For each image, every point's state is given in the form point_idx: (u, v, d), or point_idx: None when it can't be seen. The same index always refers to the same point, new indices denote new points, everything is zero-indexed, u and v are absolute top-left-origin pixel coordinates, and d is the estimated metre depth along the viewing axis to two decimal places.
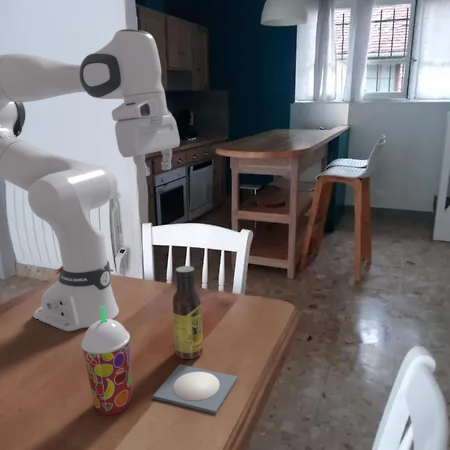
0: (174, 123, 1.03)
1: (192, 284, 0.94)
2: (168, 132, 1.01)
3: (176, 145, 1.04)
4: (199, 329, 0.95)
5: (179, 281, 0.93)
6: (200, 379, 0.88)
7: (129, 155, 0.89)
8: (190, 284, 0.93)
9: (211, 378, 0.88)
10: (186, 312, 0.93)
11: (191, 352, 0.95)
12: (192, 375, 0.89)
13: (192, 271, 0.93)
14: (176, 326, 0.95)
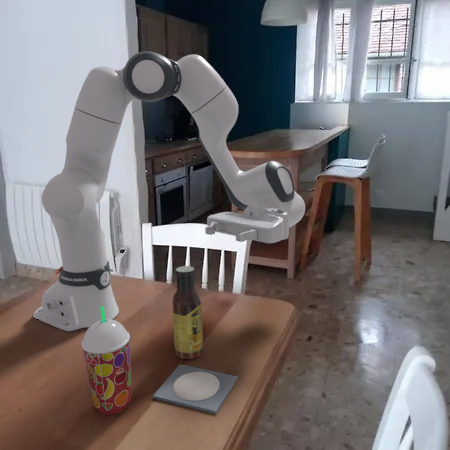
0: None
1: (192, 284, 0.94)
2: None
3: None
4: (199, 329, 0.95)
5: (179, 281, 0.93)
6: (200, 379, 0.88)
7: (269, 237, 0.98)
8: (190, 284, 0.93)
9: (211, 378, 0.88)
10: (186, 312, 0.93)
11: (191, 352, 0.95)
12: (192, 375, 0.89)
13: (192, 271, 0.93)
14: (176, 326, 0.95)
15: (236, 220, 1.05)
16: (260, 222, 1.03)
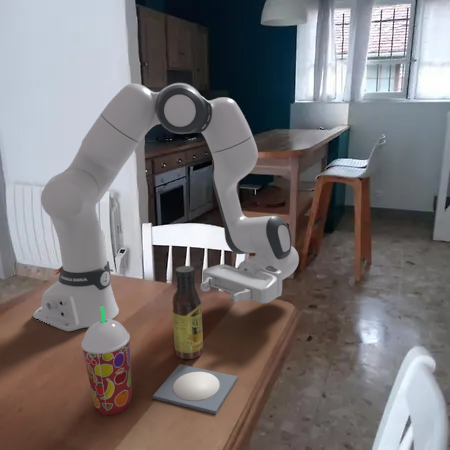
0: None
1: (192, 284, 0.94)
2: None
3: None
4: (199, 329, 0.95)
5: (179, 281, 0.93)
6: (200, 379, 0.88)
7: (263, 298, 1.00)
8: (190, 284, 0.93)
9: (211, 378, 0.88)
10: (186, 312, 0.93)
11: (191, 352, 0.95)
12: (192, 375, 0.89)
13: (192, 271, 0.93)
14: (176, 326, 0.95)
15: (231, 277, 1.07)
16: (254, 280, 1.05)
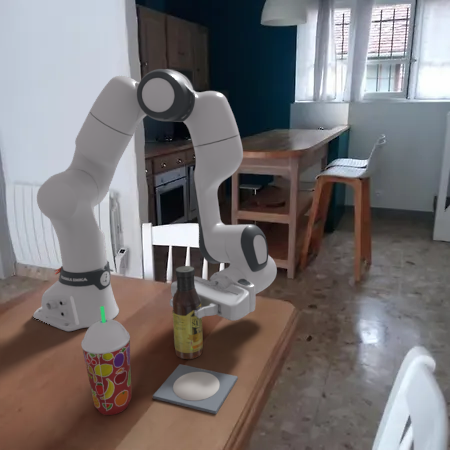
0: None
1: (192, 284, 0.94)
2: None
3: None
4: (199, 329, 0.95)
5: (179, 281, 0.93)
6: (200, 379, 0.88)
7: (232, 315, 0.93)
8: (190, 284, 0.93)
9: (211, 378, 0.88)
10: (186, 312, 0.93)
11: (191, 352, 0.95)
12: (192, 375, 0.89)
13: (192, 271, 0.93)
14: (176, 326, 0.95)
15: (200, 291, 0.99)
16: (224, 295, 0.97)
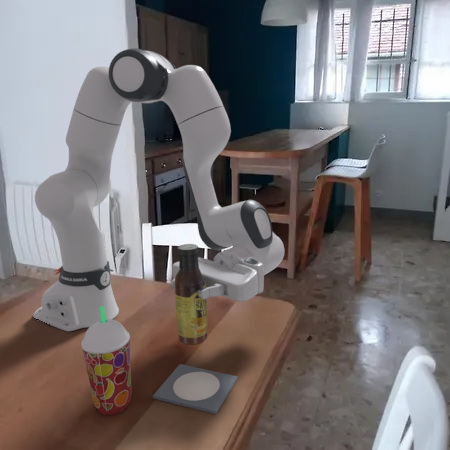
0: None
1: (196, 263, 0.86)
2: None
3: None
4: (204, 312, 0.88)
5: (182, 260, 0.86)
6: (200, 379, 0.88)
7: (240, 295, 0.85)
8: (193, 263, 0.86)
9: (211, 378, 0.88)
10: (189, 293, 0.86)
11: (195, 337, 0.88)
12: (192, 375, 0.89)
13: (196, 249, 0.85)
14: (178, 309, 0.87)
15: (204, 271, 0.92)
16: (230, 274, 0.90)
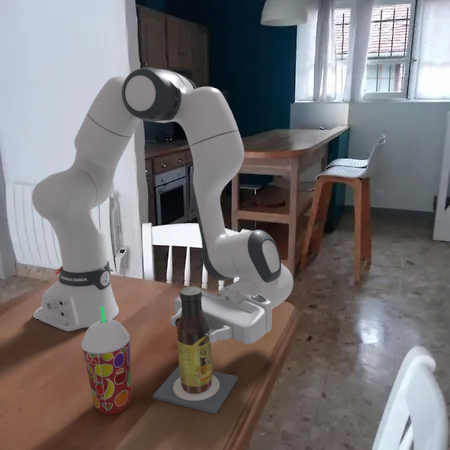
0: None
1: (199, 308, 0.81)
2: None
3: None
4: (208, 359, 0.83)
5: (184, 306, 0.80)
6: None
7: (247, 337, 0.80)
8: (197, 309, 0.80)
9: None
10: (192, 340, 0.80)
11: (199, 386, 0.83)
12: None
13: (199, 293, 0.80)
14: (181, 356, 0.82)
15: (208, 308, 0.87)
16: (236, 313, 0.84)
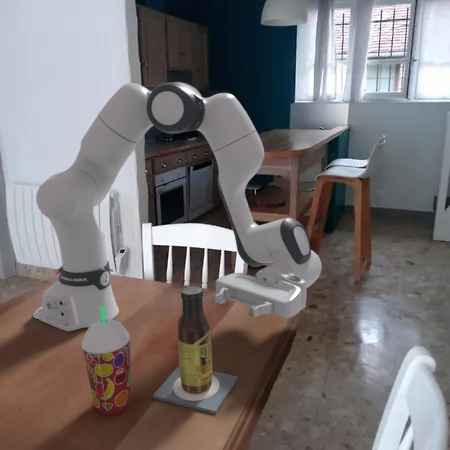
0: None
1: (200, 308, 0.81)
2: None
3: None
4: (208, 359, 0.83)
5: (185, 305, 0.81)
6: None
7: (286, 312, 0.88)
8: (197, 308, 0.81)
9: None
10: (193, 340, 0.81)
11: (199, 386, 0.83)
12: None
13: (200, 293, 0.81)
14: (181, 355, 0.82)
15: (248, 288, 0.95)
16: (275, 291, 0.93)
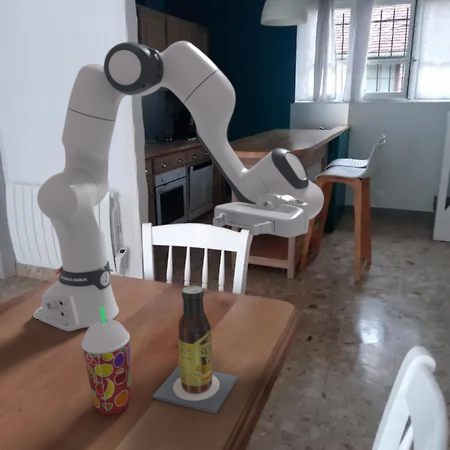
0: None
1: (201, 307, 0.81)
2: None
3: None
4: (208, 359, 0.83)
5: (186, 304, 0.81)
6: None
7: (288, 230, 0.84)
8: (198, 308, 0.81)
9: None
10: (194, 339, 0.81)
11: (199, 386, 0.83)
12: None
13: (201, 292, 0.81)
14: (182, 355, 0.82)
15: (248, 211, 0.91)
16: (276, 213, 0.89)
